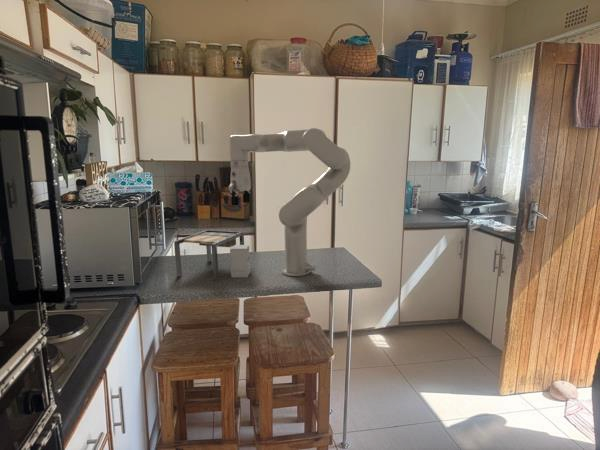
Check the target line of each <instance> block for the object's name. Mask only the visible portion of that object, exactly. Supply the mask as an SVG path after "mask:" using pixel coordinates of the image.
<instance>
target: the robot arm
mask: <svg viewBox="0 0 600 450" xmlns="http://www.w3.org/2000/svg"><path fill="white" fill-rule="evenodd" d="M304 151H305V152H306V151H307V152H310V153H311V154H312V155H313V156H315V158H317V159H318V160H319V161H320V162H321V163H323V164H324V165H325V166H326V167H327V168H328V169H327V170H325V171H324V173H323V174H322V175H320V176H319V177H318V178H317V179H315V180H314V182H313V183H311V184H309V185H307V186H305V187H303V188H302V189H301V190H299V192H297V193H296V194H295V195H294V196H293V197H291V199H289V200H288V201H287V202H285V204H284V205H282V206H281V207H280V209H279V211H278V220H279V221H280V223H281V224H282V225H283V226H284V257H285V258H284V260H285V263H284V264H285V267H284V268H282V270H281V272H282V274H283V275H285V276H287V277H288V276H289V277H302V276H306V275H309V274H311V272H312V271H313V272H314V271H316V270H317V266H316V265H315V264H310V261H308V247H307V246H308V245H307V244H308V243H307V239H308V238H307V237H308V234H307V232H308V231H307V227H308V226H307V225H308V217H309V215H311V214H312V213H313V212H314V211H316V210H317V209H318V208H319V207H321V205H322V204H323V202H324V201H326V199H327V198H329V197H330V196H331V195H332V194H333V193H334V192H335V191H337V190H338V189H339V188H340V187H341V186H342V185H343V184H344V183H345V182H346V180H347V179H348V177H349V174H350V171H351V158H350V155H349V153H348V152H347V150H346V149H345V148H342V147H340V146H338V145H337V144H336V143H335V142H333V141H332V140H331V139H330V138H329V137H327V135H326V133H325V131H323V130H322V129H321V128H317V127H316V128H315V127H313V128H312V127H311V128H309V129H295V130H285V131H283V132H280V133H271V134H268V133H267V134H261V133H259V134H258V133H251V134H233V135H230V137H229V155H230V156H229V157H230V184H229V185H228V191H229V195H230V199H231V200H230V201H231V206H237V207H238V206H239V196H238V195H239V192H242V202H243V203H245V204H247V203H250V202H251V189H252V182H251V175H250V174H251V173H250V172H251V171H250V168H249V153H267V152H268V153H269V152H285V153H286V152H287V153H289V152H292V153H293V152H304Z"/></svg>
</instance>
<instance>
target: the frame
mask: <svg viewBox="0 0 600 450" xmlns="http://www.w3.org/2000/svg"><path fill="white" fill-rule="evenodd" d="M205 232H214V233H231V234H234V235H232V236H229V237H227V238H225V239H222V240H220V241H217V242H215V243H213V244H212V246H205V248H206V260H207V262H208V263H211V262H212V271H213V272H212V273H213V281H216V282H217V281H219V280H220V277H219V276H220V275H219V261H218V260H219V259H218V247H217V246H219V245H221V244H224V243H226V242H228V241H231V240H233V239H235V238H236V239H237V238H239V245H245V234H244V231H235V230H216V229H205V230H202V231H200V232H197V233H196V232H195V233H194V234H191V235H188V236H185V237H183V238H180V239H177V240H174V241H173V245H174V254H175V255H174V257H175V268H176V277H178V278H179V277H182V276H183V272H182V261H181V260H182V259H181V257H182V256H181V248H180V244H182V243H185V242H184V240H185V239H188V238H191V237H193V236H196V235H198V234H202V233H205Z"/></svg>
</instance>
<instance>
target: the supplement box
mask: <svg viewBox="0 0 600 450" xmlns="http://www.w3.org/2000/svg"><path fill="white" fill-rule="evenodd" d="M229 254H230V273H231V274H230V275H231V276H230V277H231V278H249V275H250V273H251V260H250V259H251V257H250V256H251V254H250V244H244V245H240V244H236V245H233V246H232V247H230V249H229Z"/></svg>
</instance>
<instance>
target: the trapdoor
mask: <svg viewBox="0 0 600 450" xmlns="http://www.w3.org/2000/svg"><path fill="white" fill-rule="evenodd" d="M232 235H234V234H231V233H214V232H205V233H202V234H198V235H196V236H193V237H191V238H188V239H185V240H184V242H183V243H191V244H199V246H203V247H204V246H205V247H206V246H211V247H212V244H213V243H215V242H217V241H220V240H222V239H225V238H227V237H229V236H232ZM233 245H237V238H235V239H233V240H231V241H228V242H226V243H224V244H221V245H219V246H217V248H219V247H221V248H231V247H232V246H233Z"/></svg>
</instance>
